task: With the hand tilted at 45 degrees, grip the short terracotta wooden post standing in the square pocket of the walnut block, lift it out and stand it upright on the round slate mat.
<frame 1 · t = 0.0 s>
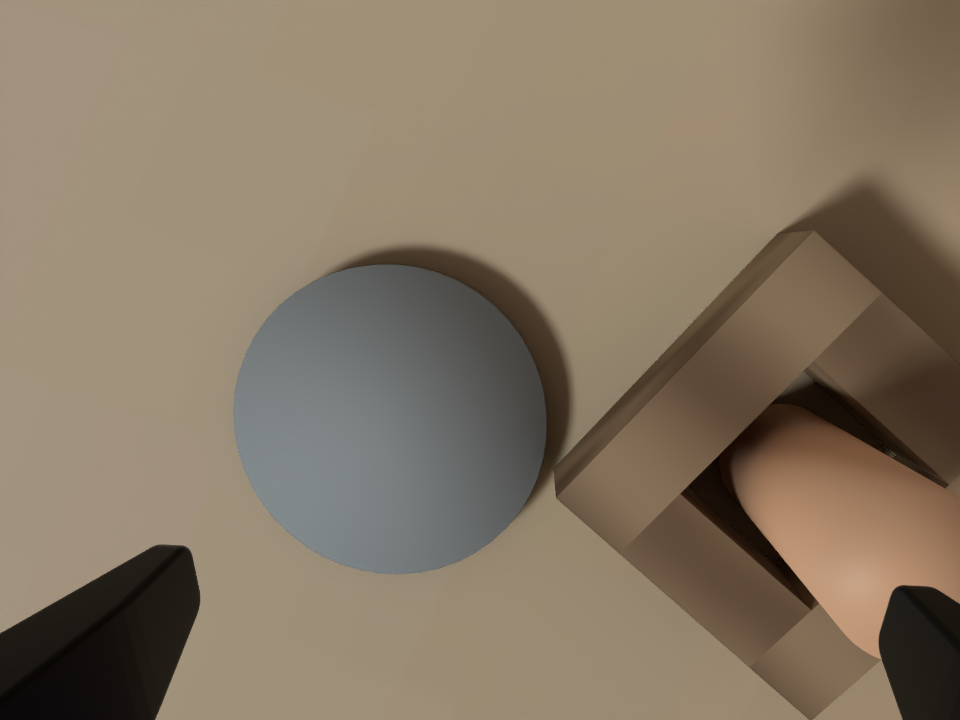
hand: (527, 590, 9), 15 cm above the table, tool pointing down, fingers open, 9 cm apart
post: (833, 506, 19), in the pocket block
slate mat: (393, 418, 25), on the table
pocket block: (778, 460, 24), on the table
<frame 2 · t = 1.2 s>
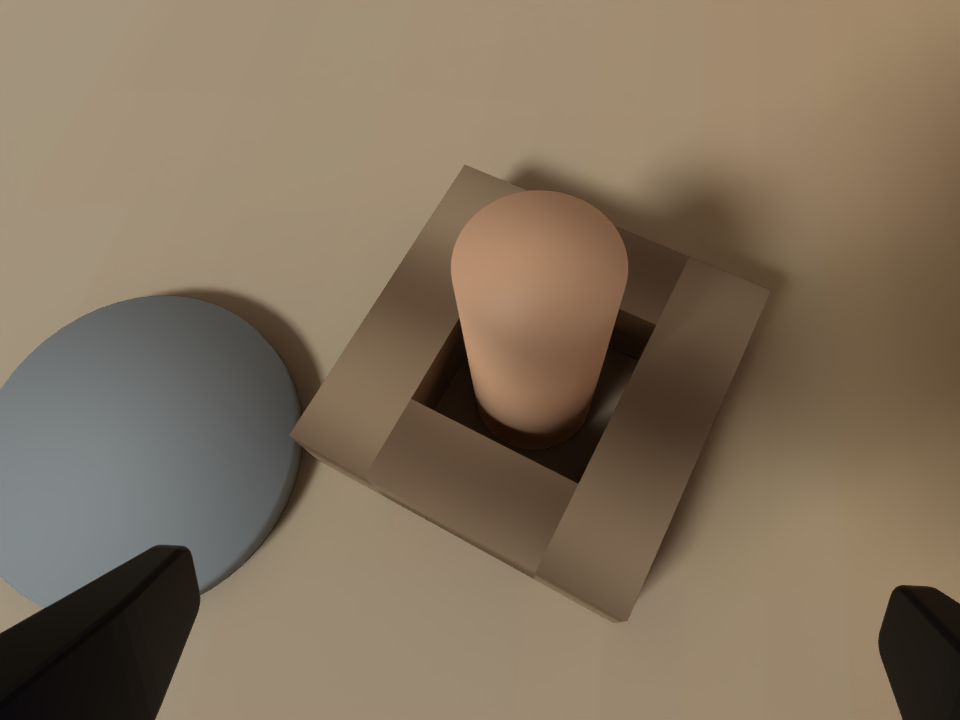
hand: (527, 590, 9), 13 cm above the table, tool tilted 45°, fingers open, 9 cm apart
post: (535, 342, 20), in the pocket block
slate mat: (147, 449, 24), on the table
pocket block: (533, 393, 24), on the table
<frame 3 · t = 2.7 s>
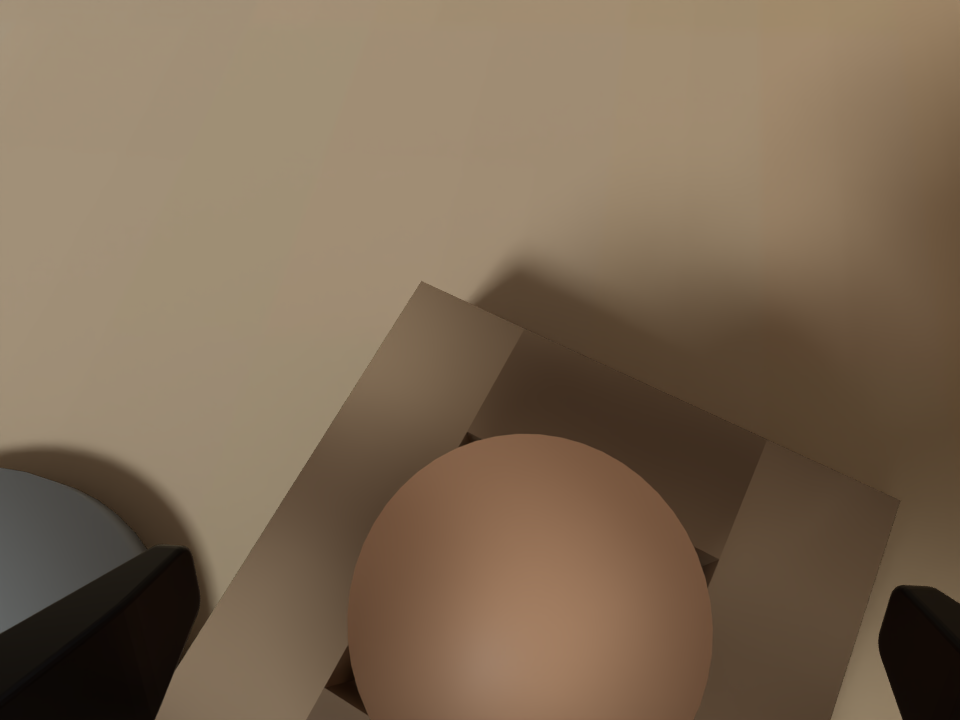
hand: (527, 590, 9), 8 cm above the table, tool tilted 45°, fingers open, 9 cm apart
post: (525, 620, 12), in the pocket block
pocket block: (524, 625, 16), on the table
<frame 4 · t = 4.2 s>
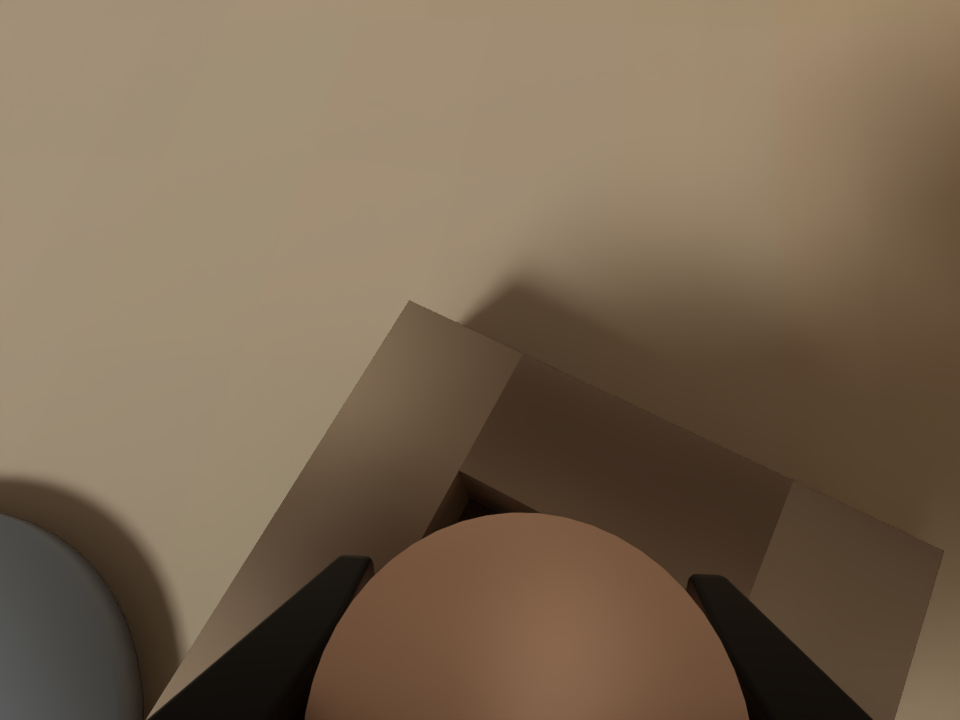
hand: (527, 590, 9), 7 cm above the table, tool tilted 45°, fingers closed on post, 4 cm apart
post: (523, 696, 10), in the pocket block, touching gripper
pocket block: (523, 678, 14), on the table
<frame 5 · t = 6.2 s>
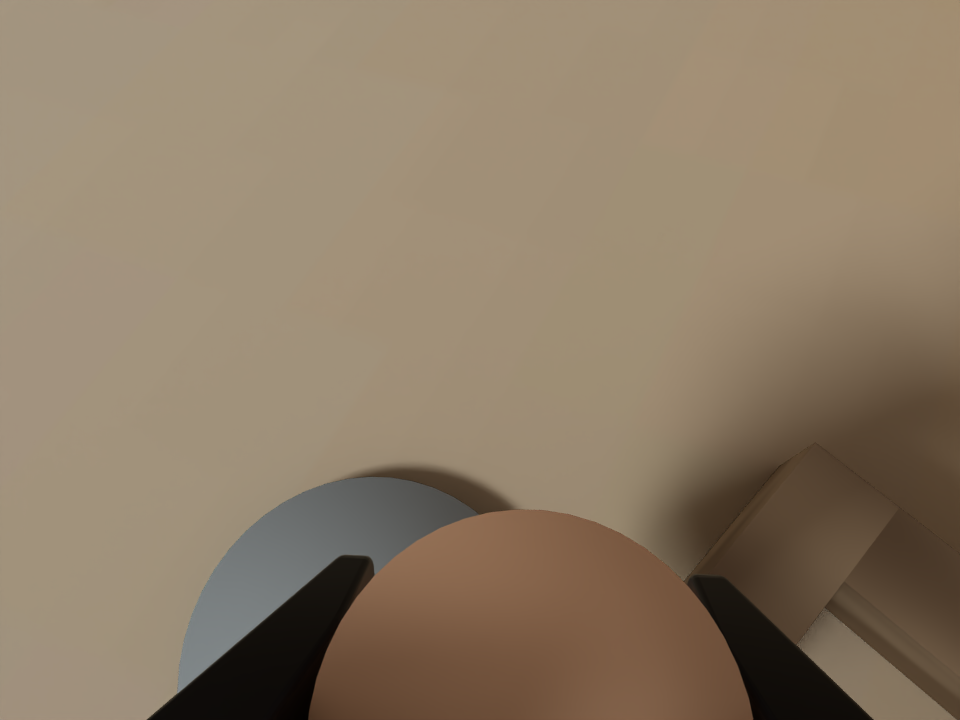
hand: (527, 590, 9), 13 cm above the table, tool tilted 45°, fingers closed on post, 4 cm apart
post: (525, 694, 10), point 11 cm above the table, touching gripper
slate mat: (368, 660, 21), on the table
when the fingers open (8 cm above the table, at t = 8.5 s): post stays where it is, resting on slate mat.
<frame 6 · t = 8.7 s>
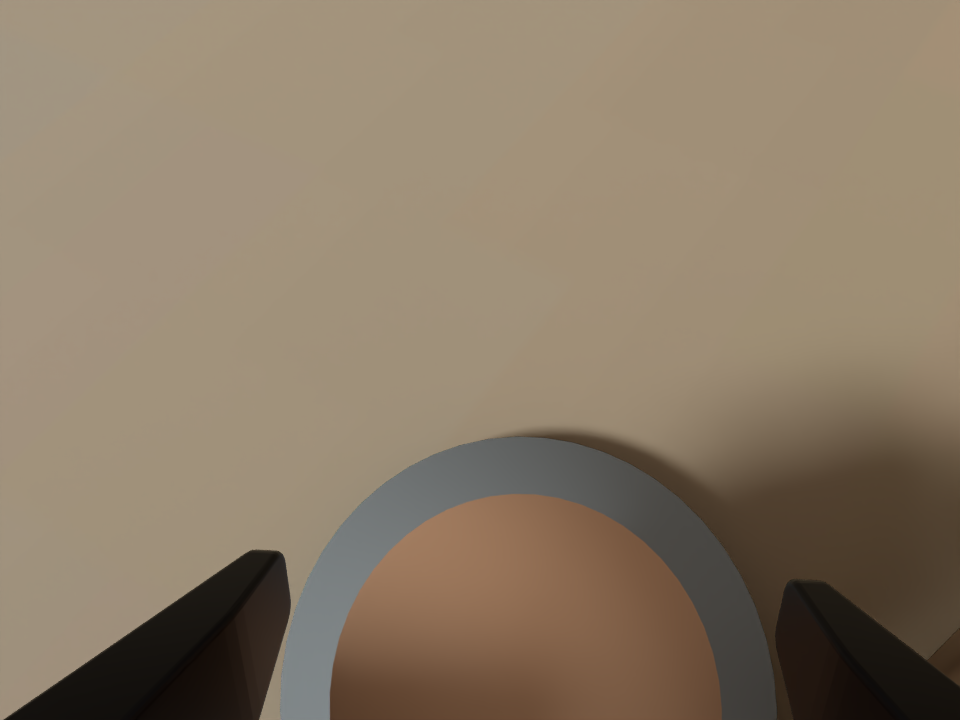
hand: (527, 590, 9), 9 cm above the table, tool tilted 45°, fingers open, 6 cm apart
post: (523, 679, 11), on the slate mat, point 6 cm above the table
slate mat: (522, 672, 16), on the table
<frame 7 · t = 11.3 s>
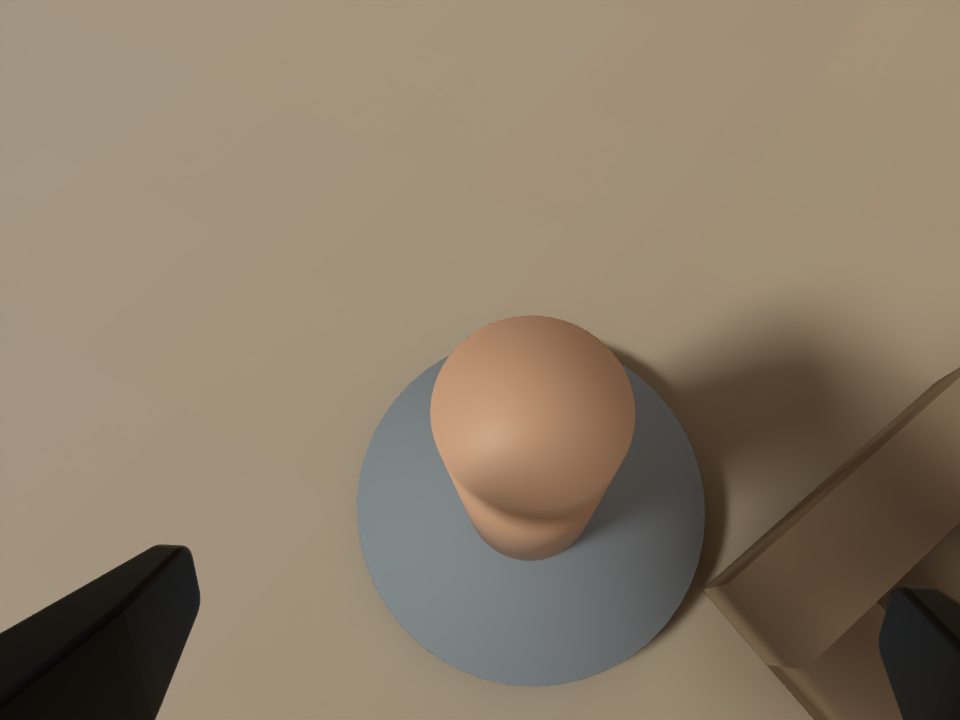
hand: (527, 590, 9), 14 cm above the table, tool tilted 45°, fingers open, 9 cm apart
post: (530, 462, 18), on the slate mat, point 6 cm above the table
slate mat: (528, 500, 23), on the table
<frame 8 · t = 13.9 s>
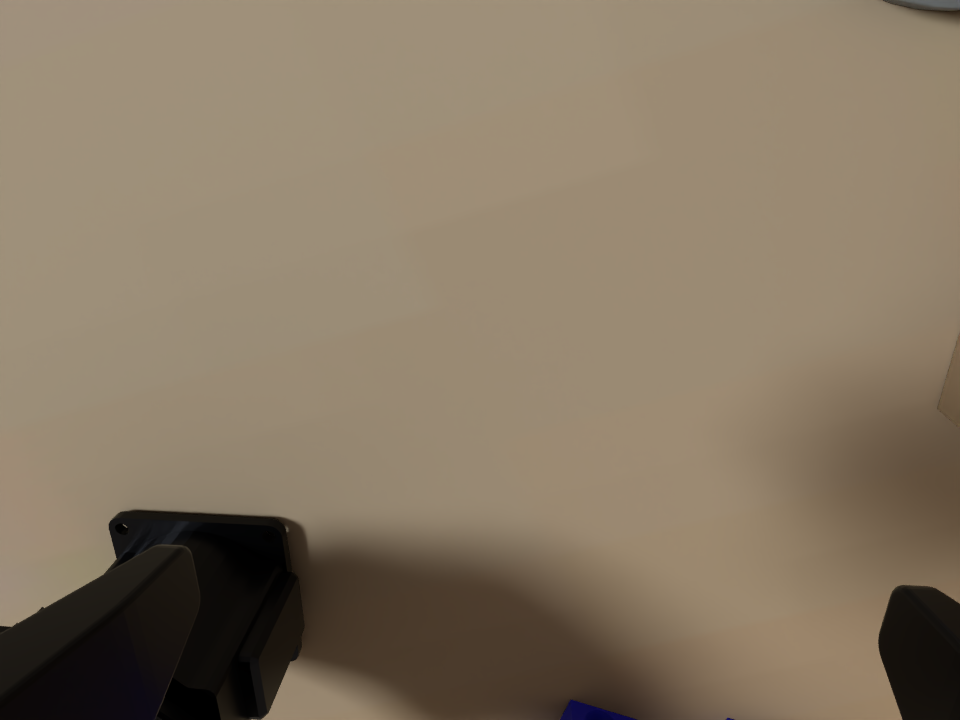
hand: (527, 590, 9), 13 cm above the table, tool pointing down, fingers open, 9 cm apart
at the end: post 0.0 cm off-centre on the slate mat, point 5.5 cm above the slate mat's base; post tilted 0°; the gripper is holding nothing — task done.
